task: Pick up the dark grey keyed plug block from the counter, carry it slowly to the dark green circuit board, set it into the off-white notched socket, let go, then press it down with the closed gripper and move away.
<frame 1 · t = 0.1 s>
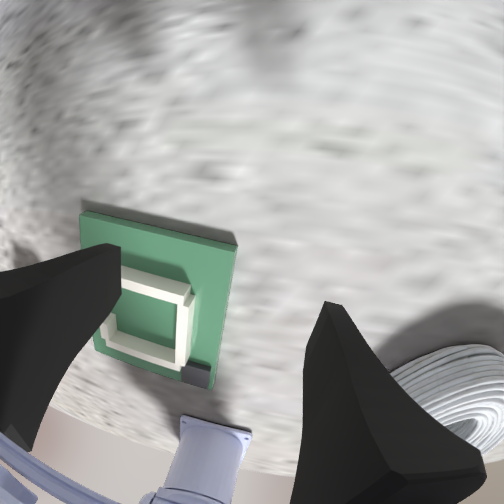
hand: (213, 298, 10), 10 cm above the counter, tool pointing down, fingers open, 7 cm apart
cable: (433, 400, 25), on the counter
board: (152, 306, 24), on the counter
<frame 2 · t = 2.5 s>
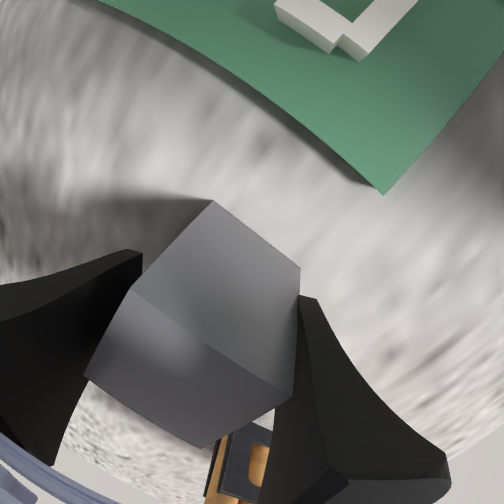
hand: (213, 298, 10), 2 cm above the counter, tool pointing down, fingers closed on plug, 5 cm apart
ammunition clip: (297, 447, 17), on the counter
plug: (226, 271, 12), on the counter, touching gripper
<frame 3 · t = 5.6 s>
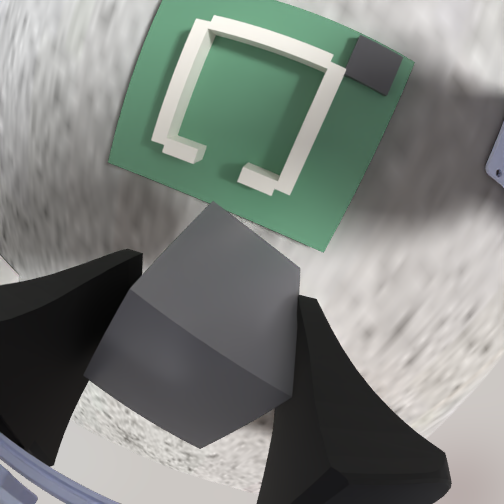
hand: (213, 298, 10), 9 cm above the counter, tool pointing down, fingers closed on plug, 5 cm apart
plug: (226, 271, 12), point 7 cm above the counter, touching gripper
board: (251, 102, 16), on the counter
ink cartridge box: (5, 284, 26), on the counter
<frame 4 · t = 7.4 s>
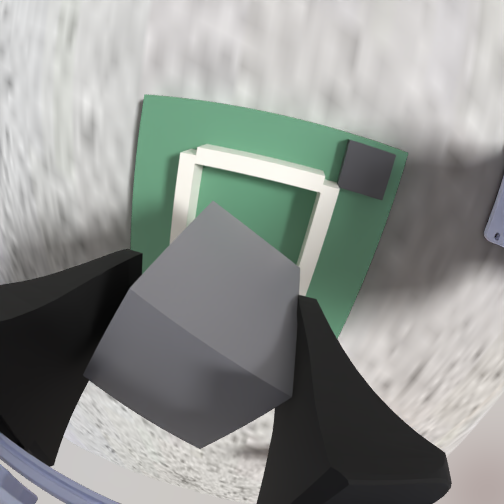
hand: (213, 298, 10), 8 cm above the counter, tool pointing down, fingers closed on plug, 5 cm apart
plug: (226, 271, 12), point 6 cm above the counter, touching gripper
board: (252, 219, 18), on the counter
when the fingers open (3 cm above the counter, at t = 8.9 s): plug stays where it is, resting on board.
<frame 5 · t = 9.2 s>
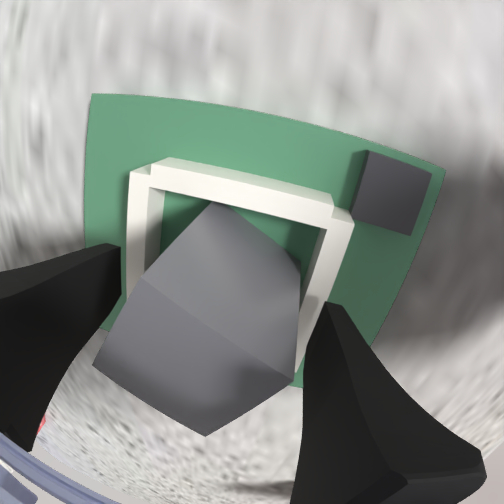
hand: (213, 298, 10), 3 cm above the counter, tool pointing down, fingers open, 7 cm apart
plug: (229, 266, 12), point 1 cm above the counter, touching board
board: (234, 255, 13), on the counter
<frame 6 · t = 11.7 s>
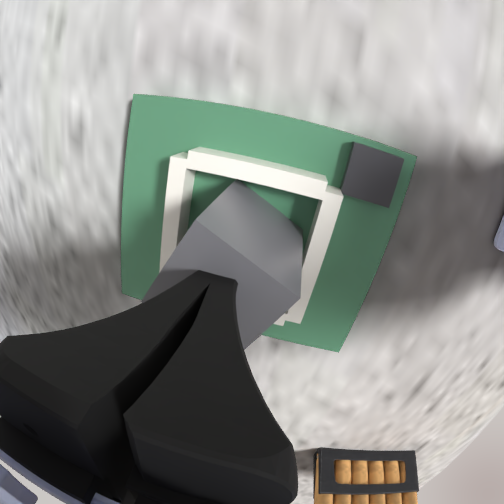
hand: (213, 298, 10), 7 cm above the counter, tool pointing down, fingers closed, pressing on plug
ammunition clip: (366, 453, 25), on the counter
plug: (245, 234, 16), point 1 cm above the counter, touching board, gripper
board: (248, 226, 16), on the counter
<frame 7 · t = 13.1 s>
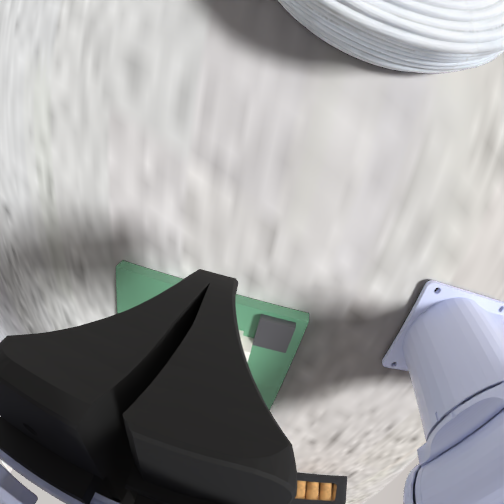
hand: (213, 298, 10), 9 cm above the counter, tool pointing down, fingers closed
ammunition clip: (307, 474, 33), on the counter
board: (200, 347, 24), on the counter
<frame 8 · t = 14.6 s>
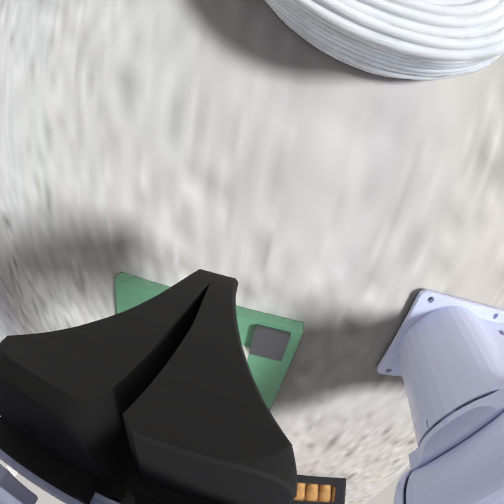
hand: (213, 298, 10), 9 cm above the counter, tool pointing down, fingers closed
ammunition clip: (306, 477, 33), on the counter
board: (199, 355, 25), on the counter
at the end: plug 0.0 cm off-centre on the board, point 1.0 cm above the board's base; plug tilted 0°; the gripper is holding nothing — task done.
